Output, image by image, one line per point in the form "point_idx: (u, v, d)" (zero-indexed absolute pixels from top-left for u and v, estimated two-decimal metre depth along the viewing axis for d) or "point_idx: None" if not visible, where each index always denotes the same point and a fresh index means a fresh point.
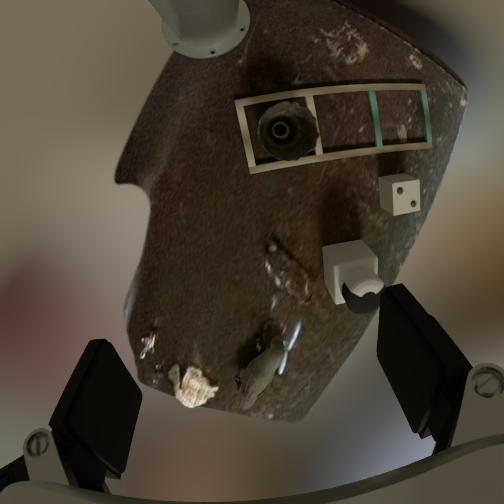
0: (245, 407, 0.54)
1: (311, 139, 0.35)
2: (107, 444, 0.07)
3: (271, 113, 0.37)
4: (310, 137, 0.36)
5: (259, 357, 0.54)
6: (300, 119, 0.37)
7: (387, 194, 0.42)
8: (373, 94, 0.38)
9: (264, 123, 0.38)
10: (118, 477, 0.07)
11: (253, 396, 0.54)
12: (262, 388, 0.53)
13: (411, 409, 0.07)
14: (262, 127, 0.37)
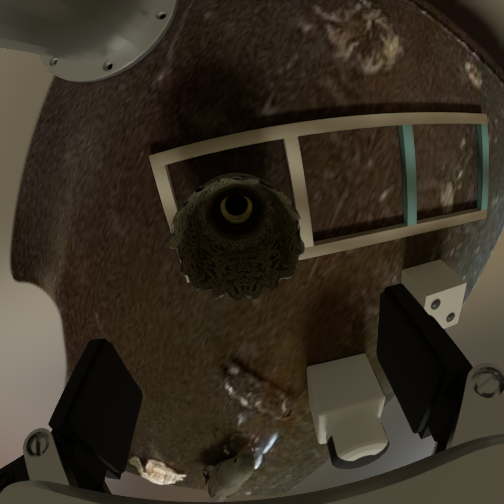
0: None
1: (289, 247, 0.18)
2: (107, 444, 0.07)
3: (212, 184, 0.20)
4: (288, 240, 0.19)
5: (225, 466, 0.38)
6: (270, 194, 0.20)
7: None
8: (410, 133, 0.21)
9: (200, 203, 0.21)
10: (118, 477, 0.07)
11: (221, 498, 0.37)
12: (230, 494, 0.37)
13: (411, 409, 0.07)
14: (196, 213, 0.20)
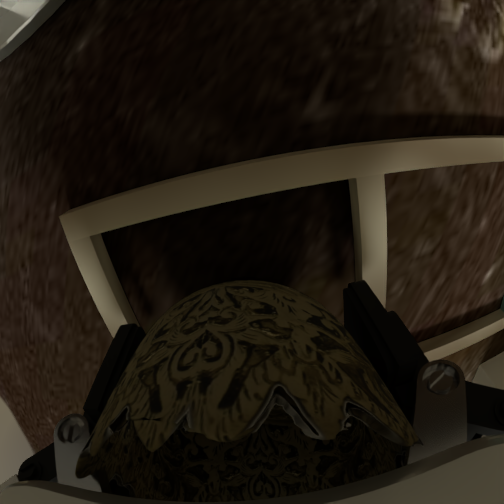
0: None
1: (363, 452, 0.07)
2: None
3: None
4: (363, 434, 0.07)
5: None
6: None
7: None
8: None
9: None
10: None
11: None
12: None
13: None
14: None
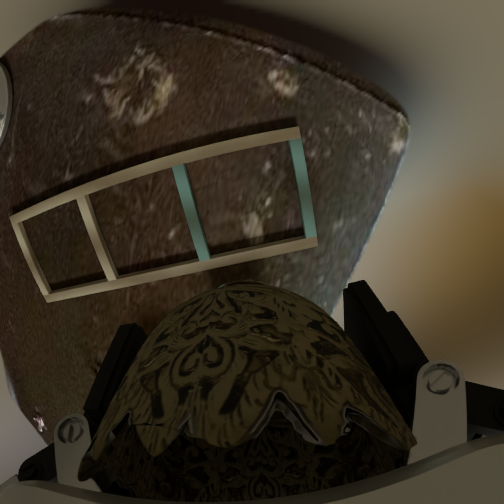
0: None
1: (363, 454, 0.07)
2: None
3: None
4: (363, 437, 0.07)
5: None
6: None
7: None
8: (182, 173, 0.24)
9: None
10: None
11: None
12: None
13: None
14: None
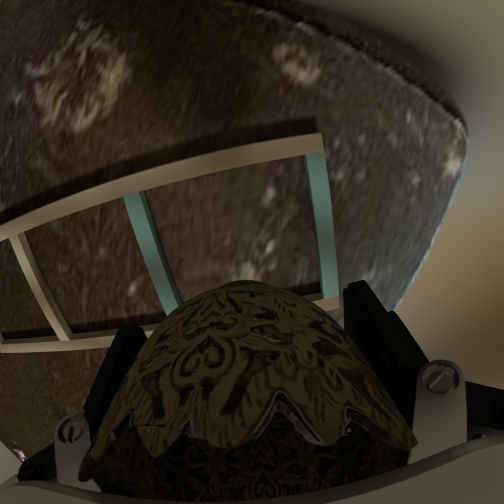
0: None
1: (363, 454, 0.07)
2: None
3: None
4: (363, 437, 0.07)
5: None
6: None
7: None
8: (138, 205, 0.15)
9: None
10: None
11: None
12: None
13: None
14: None
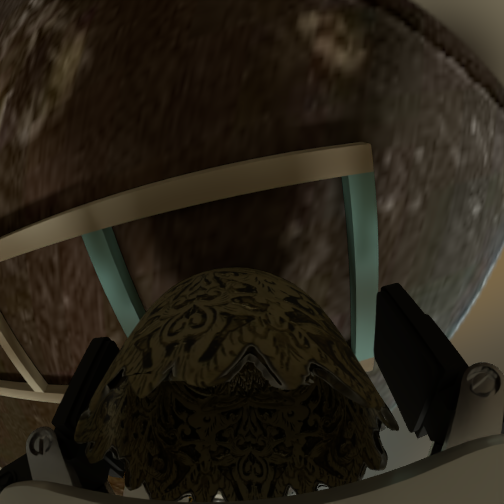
0: None
1: (345, 431, 0.07)
2: None
3: None
4: (344, 414, 0.08)
5: None
6: None
7: None
8: (102, 248, 0.10)
9: None
10: (121, 476, 0.07)
11: None
12: None
13: (407, 408, 0.07)
14: None
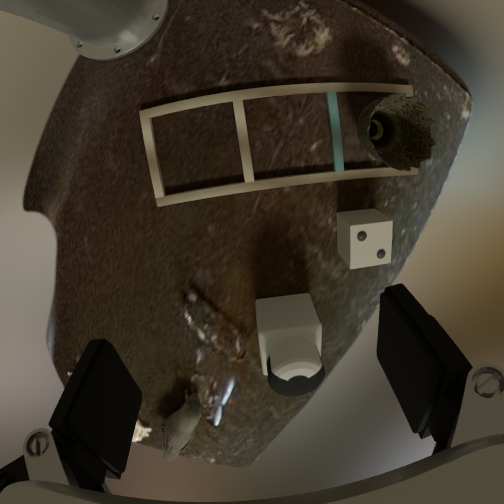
0: (168, 459, 0.44)
1: (421, 146, 0.25)
2: (107, 444, 0.07)
3: None
4: (419, 143, 0.25)
5: (176, 414, 0.44)
6: (402, 120, 0.27)
7: (344, 239, 0.32)
8: (334, 97, 0.28)
9: None
10: (118, 477, 0.07)
11: (174, 451, 0.43)
12: (181, 445, 0.43)
13: (411, 409, 0.07)
14: None
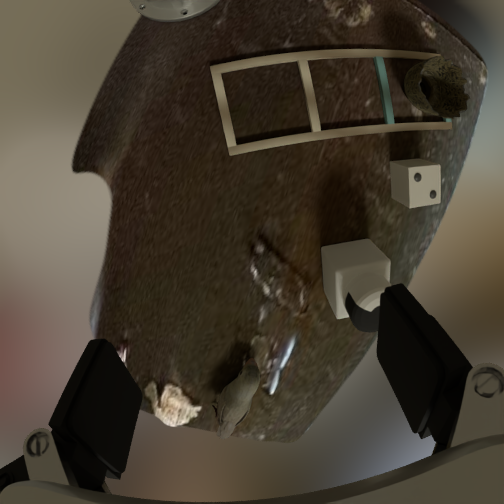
0: (223, 437, 0.46)
1: (457, 101, 0.25)
2: (107, 444, 0.07)
3: None
4: (455, 99, 0.26)
5: (232, 383, 0.46)
6: (437, 81, 0.27)
7: (401, 182, 0.33)
8: (381, 61, 0.28)
9: None
10: (118, 477, 0.07)
11: (230, 426, 0.45)
12: (238, 418, 0.44)
13: (411, 409, 0.07)
14: None
